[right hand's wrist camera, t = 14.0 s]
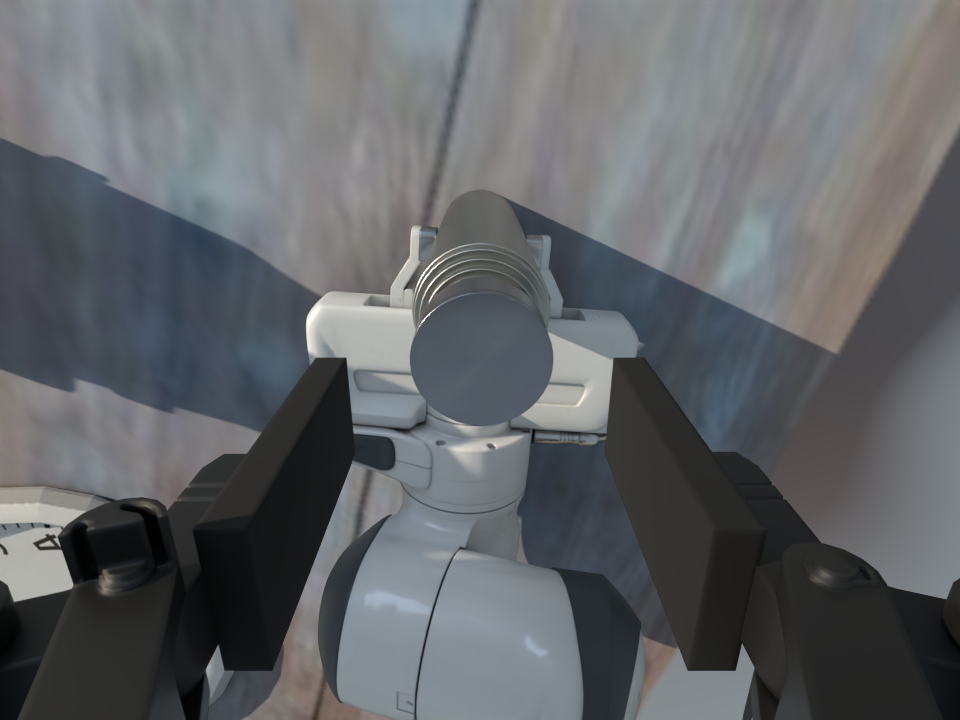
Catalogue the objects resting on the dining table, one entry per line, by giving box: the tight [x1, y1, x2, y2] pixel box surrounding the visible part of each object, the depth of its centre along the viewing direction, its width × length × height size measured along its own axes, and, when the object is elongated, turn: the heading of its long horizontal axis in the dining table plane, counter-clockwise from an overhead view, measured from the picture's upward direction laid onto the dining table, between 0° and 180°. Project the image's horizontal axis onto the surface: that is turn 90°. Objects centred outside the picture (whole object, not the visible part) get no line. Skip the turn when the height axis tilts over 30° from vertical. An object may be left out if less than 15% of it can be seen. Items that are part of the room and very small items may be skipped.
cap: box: [410, 278, 553, 426], centre depth 18 cm, size 4×4×2 cm
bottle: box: [412, 190, 550, 330], centre depth 29 cm, size 5×5×24 cm
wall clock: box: [0, 486, 234, 706], centre depth 52 cm, size 30×2×30 cm
